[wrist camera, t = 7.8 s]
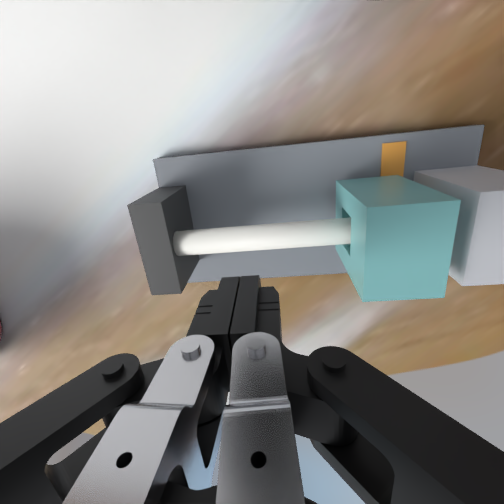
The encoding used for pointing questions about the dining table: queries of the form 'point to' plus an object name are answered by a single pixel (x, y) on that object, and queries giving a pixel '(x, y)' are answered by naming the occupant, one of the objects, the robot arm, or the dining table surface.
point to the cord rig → (307, 207)
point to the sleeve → (396, 237)
